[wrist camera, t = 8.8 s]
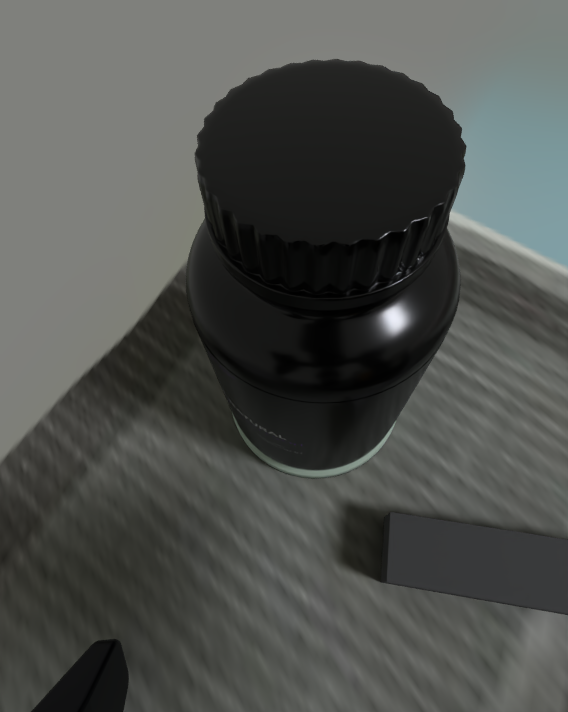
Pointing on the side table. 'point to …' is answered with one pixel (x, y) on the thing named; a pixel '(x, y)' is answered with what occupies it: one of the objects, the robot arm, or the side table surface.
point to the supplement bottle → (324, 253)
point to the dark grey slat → (476, 562)
